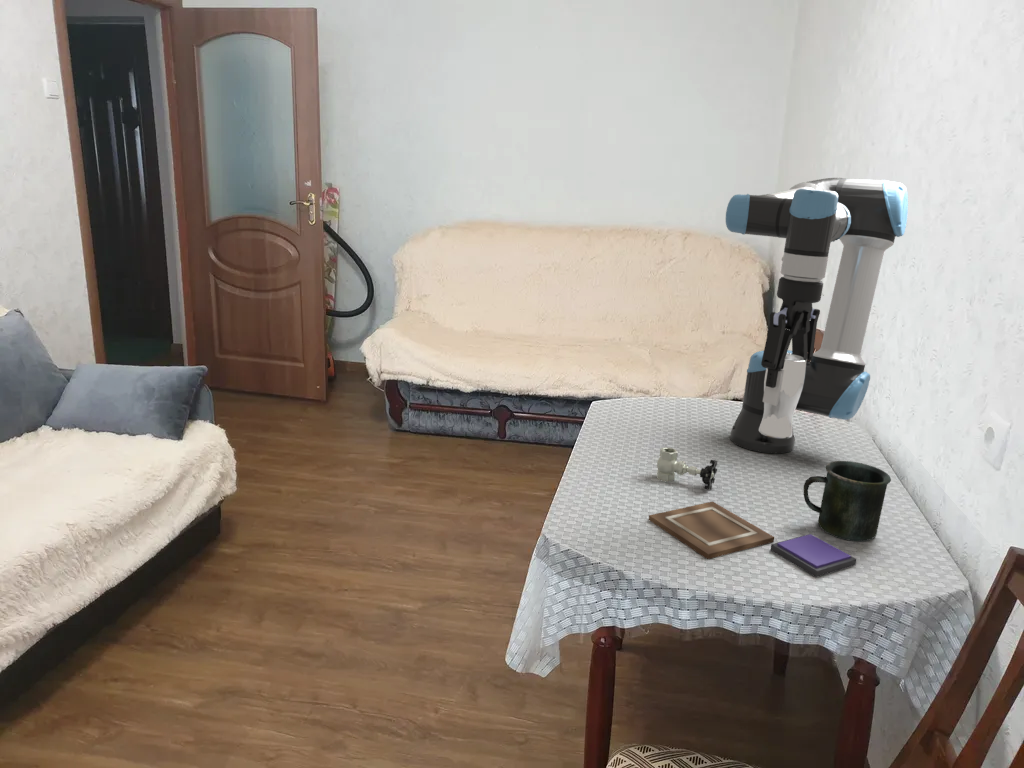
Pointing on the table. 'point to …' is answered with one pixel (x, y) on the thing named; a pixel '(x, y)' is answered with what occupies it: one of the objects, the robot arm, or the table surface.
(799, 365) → the beer glass
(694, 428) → the table surface
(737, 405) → the table surface
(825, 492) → the mug
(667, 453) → the valve
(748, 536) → the board
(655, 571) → the table surface
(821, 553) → the ink pad
